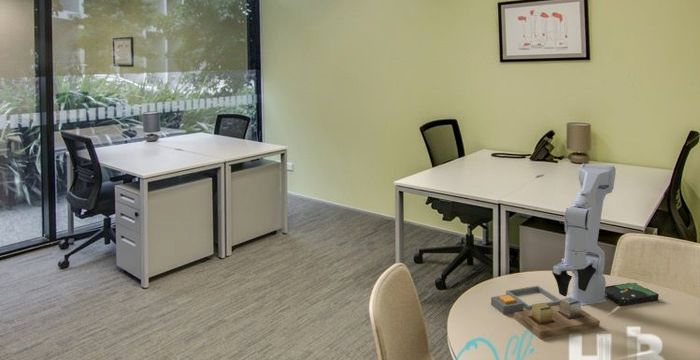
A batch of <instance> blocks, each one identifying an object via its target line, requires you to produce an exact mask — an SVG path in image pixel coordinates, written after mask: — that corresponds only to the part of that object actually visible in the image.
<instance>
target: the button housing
mask: <svg viewBox="0 0 700 360" xmlns="http://www.w3.org/2000/svg"><path fill="white" fill-rule="evenodd" d="M508 295H510V296H511V297H512V298H514V299H515V300H516V302H515V303H509V304H504V303H503V302H502V301H500V300H499V297H500V296H506V294H503V295H497V296H496V295H495V296H491V297H490V306H492V307H493V308H494V309H496V310H497V311H499V312H500V313H501V314H502V315H509V314H513V313H514V314H515V312H521V311H524V308H523V306H524V303H522V302H521V301H520V300H518V299H517V298H515V297H514V296H513V295H511V294H508Z"/></svg>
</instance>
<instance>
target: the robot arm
mask: <svg viewBox="0 0 700 360" xmlns="http://www.w3.org/2000/svg"><path fill="white" fill-rule="evenodd" d="M615 180H616V167H615V166H614V165H603V164H602V165H601V164H593V163H591V164H590V163H585V162H583V163H581V165H580V166H579V170H578V181H579V184H580V187H581V188H580V189H581V190H580V191H578V192H576V193H575V196H574V198H573V201H572V203H571V205H570V207H569V208H568V207H567V208H566V209H565V213H564V219H563V220H564V232H565V243H564V244H565V245H564V258H561V262H559V263H557V264H556V265H554V266H553V268H552V272H551V274H552V275H553V278H554V279H555V281H556V284H557V288H558V293H559V295H560V296H562V297H566V298H569V297H571V298H573V299H575V300H577V301H579V302H581V306H587V305H595V304H599V303H605V302H607V300H606V299H605V298H606V297H605V287H606V286H607V282H606V277H605V276H604V274H603V273H604V269H605V264H606V263H605V262H606V260H605V258H606V254H605V251H604V250H603V249H602V248H601V247H600V246H599V245H598V239H599V233H600V232H599V231H600V228H601V227H600V226H601V220H602V213H603V206H604V201H605V199H606V196H607V195H609V194H611V193H613V190H614V187H615V186H614V185H615ZM570 271H571V274H572V275H570V274H569V273H568V272H570ZM571 280H572V285H571V292H570V293H568V291H569V285H570V282H571Z"/></svg>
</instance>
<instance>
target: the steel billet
mask: <svg viewBox="0 0 700 360" xmlns="http://www.w3.org/2000/svg"><path fill="white" fill-rule="evenodd" d="M581 306H582V305H581V302H579V301H577V300H575V299H573V298H571V297H565V298H561V299H560V310H559V313H560V314H561V315H563V316H564V317H566V318H567V319H569V320H571V319H577V318H580V310H581V309H582V307H581Z"/></svg>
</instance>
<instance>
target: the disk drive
mask: <svg viewBox="0 0 700 360" xmlns="http://www.w3.org/2000/svg"><path fill="white" fill-rule="evenodd" d="M659 295H660V294H658V293H657V292H655V291H653V290H651V289H649V288H647V287H644V286H642V285H639V284H637V282H631V283H630V282H627V283H621V284H615V285H606V286H605V297H604V298H607V300H609V301H611V302H613V303H615V304H616V305H617V306H618V307H621V308H622V307H627V306H632V305H641V304H647V303H654V302H658V301H659V297H660V296H659Z"/></svg>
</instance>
